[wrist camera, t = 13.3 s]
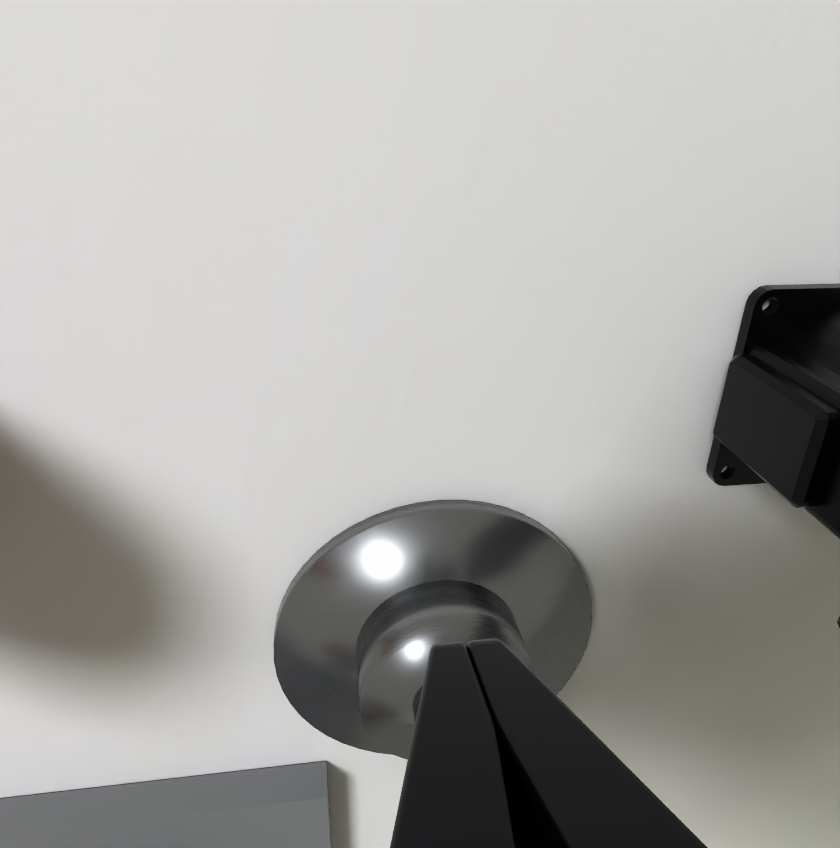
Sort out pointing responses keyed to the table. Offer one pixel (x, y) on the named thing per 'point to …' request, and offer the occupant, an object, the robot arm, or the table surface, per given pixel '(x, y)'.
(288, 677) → the stand
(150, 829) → the board
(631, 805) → the robot arm
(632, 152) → the table surface
